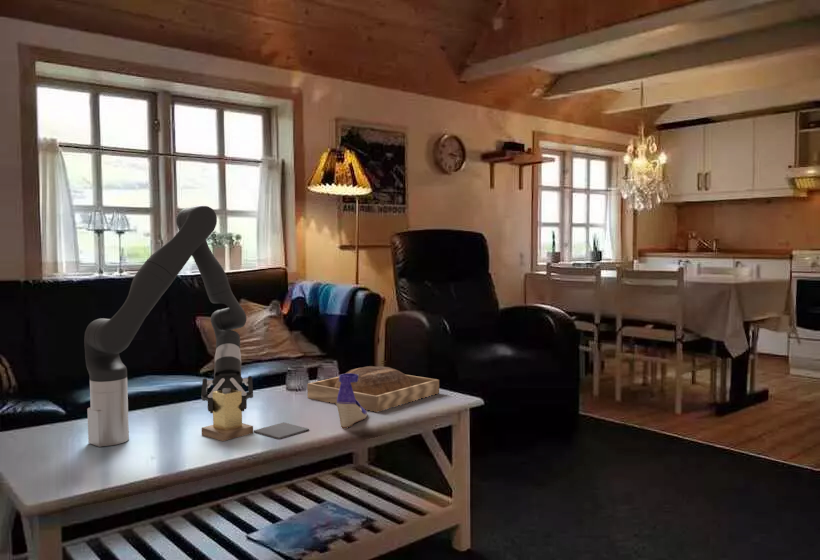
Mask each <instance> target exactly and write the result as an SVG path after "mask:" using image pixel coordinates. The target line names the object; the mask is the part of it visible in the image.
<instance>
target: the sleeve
mask: <svg viewBox="0 0 820 560" xmlns="http://www.w3.org/2000/svg"><path fill="white" fill-rule="evenodd" d="M241 403H242V394H241V391H238V390H234V389H231V393H227V394H223V390H220V391H215V392H213V413H212V423H213V424H212V425H213V427H214V428H217V429H221V430H224V431H227V430H230V429H234V428H238V427H242V423H243V411H242V407H241Z"/></svg>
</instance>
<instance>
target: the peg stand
mask: <svg viewBox="0 0 820 560" xmlns="http://www.w3.org/2000/svg"><path fill="white" fill-rule="evenodd" d="M227 393H231V388H223V394H227ZM251 434H254V425H251V424H248V423H247V424H246V423H243V422H242V427H238V428H234V429H230V430H227V431H224V430H221V429H217V428H214V427H213V424H211V425H208V426H204V427H201V435H202V436H205V437H208V438H211V439H214V440H218V441H221V442H224V441H225V442H226V441H228V440H230V441H231V440H233V439H237V438H239V437H240V438H241V437H243V436H247V435H251Z"/></svg>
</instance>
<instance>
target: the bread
mask: <svg viewBox="0 0 820 560" xmlns="http://www.w3.org/2000/svg"><path fill="white" fill-rule="evenodd" d="M349 373H352V374H356V375H357V374H359V375H358V381H357V382H356V383H355V382H351V386H352V389H353V391H354V392H359V393H365V394H370V395H375V396H377V395H380V394H384V393H388V392H392V391H395V390H399V389H403V388H407V387H410V386H411V382H410V380H409V378H408V377H407V376H406V375H407V374H406V375H405V373H403V372H402V371H400V370H398V369H395V368H392V367H390V366H382V365H380V366H379V365H378V366H373V365H369V366H368V365H367V366H363V367H358V368H353V369H350V370H348V371H346V372H345V373H344V374H349ZM340 385H341V382H340V381H339V379H338V380H337V382H336V384H335V386H334V388H338V389H340Z"/></svg>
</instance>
